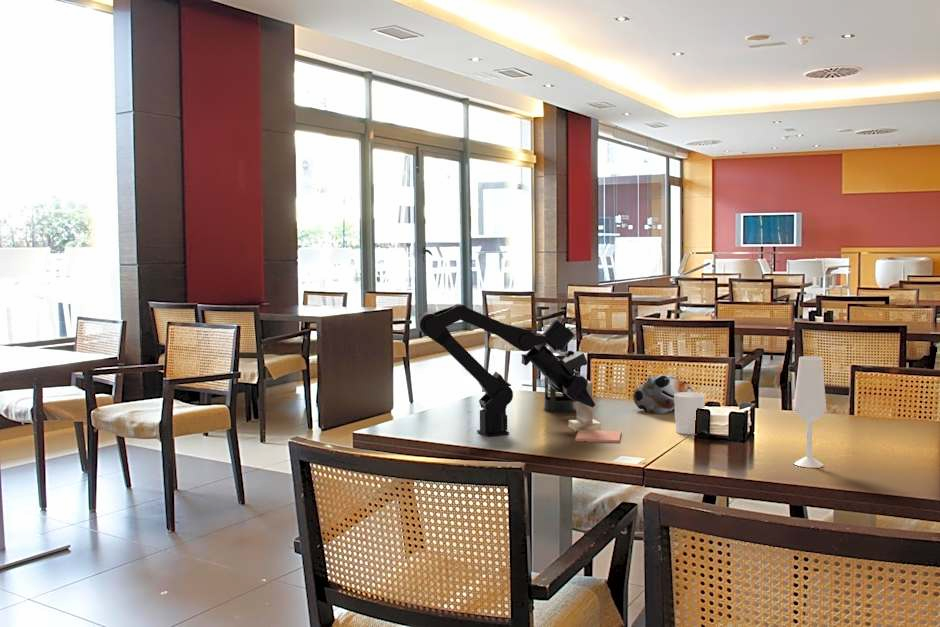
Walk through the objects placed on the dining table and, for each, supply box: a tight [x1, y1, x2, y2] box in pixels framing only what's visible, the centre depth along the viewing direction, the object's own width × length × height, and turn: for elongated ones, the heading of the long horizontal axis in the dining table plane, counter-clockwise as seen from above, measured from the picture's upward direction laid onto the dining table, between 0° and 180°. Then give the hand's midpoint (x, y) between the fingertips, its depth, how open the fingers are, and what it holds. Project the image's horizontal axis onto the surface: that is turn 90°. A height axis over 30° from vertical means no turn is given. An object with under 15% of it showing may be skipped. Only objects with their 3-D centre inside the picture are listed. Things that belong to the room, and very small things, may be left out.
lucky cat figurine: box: [632, 374, 693, 415], centre depth 261 cm, size 15×12×14 cm
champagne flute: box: [793, 355, 827, 467], centre depth 196 cm, size 7×7×24 cm
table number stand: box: [568, 379, 602, 433], centre depth 238 cm, size 7×6×13 cm
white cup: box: [674, 391, 706, 436], centre depth 232 cm, size 8×8×10 cm
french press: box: [543, 351, 581, 413], centre depth 266 cm, size 12×9×23 cm
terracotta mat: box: [574, 430, 622, 444], centre depth 228 cm, size 11×11×1 cm
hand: (588, 403), depth 238 cm, fingers open, 9 cm apart
